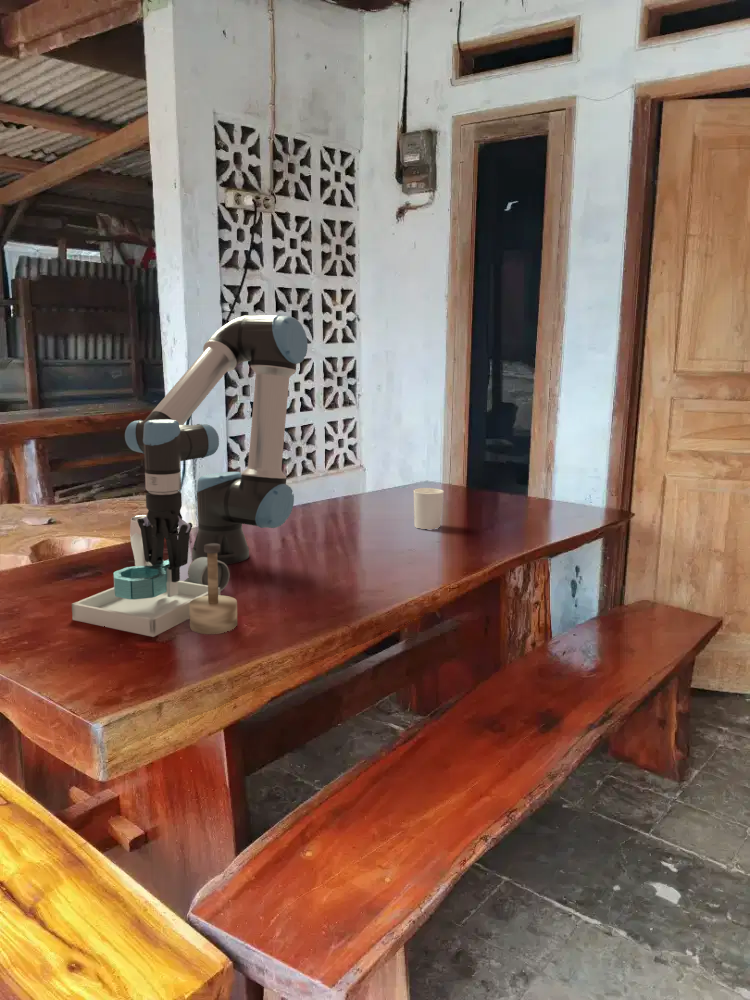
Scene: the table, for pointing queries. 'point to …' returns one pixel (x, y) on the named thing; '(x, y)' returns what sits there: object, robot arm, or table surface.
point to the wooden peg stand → (213, 602)
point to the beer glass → (137, 542)
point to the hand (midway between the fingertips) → (167, 593)
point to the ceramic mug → (200, 573)
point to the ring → (141, 581)
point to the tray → (139, 610)
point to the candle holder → (428, 507)
